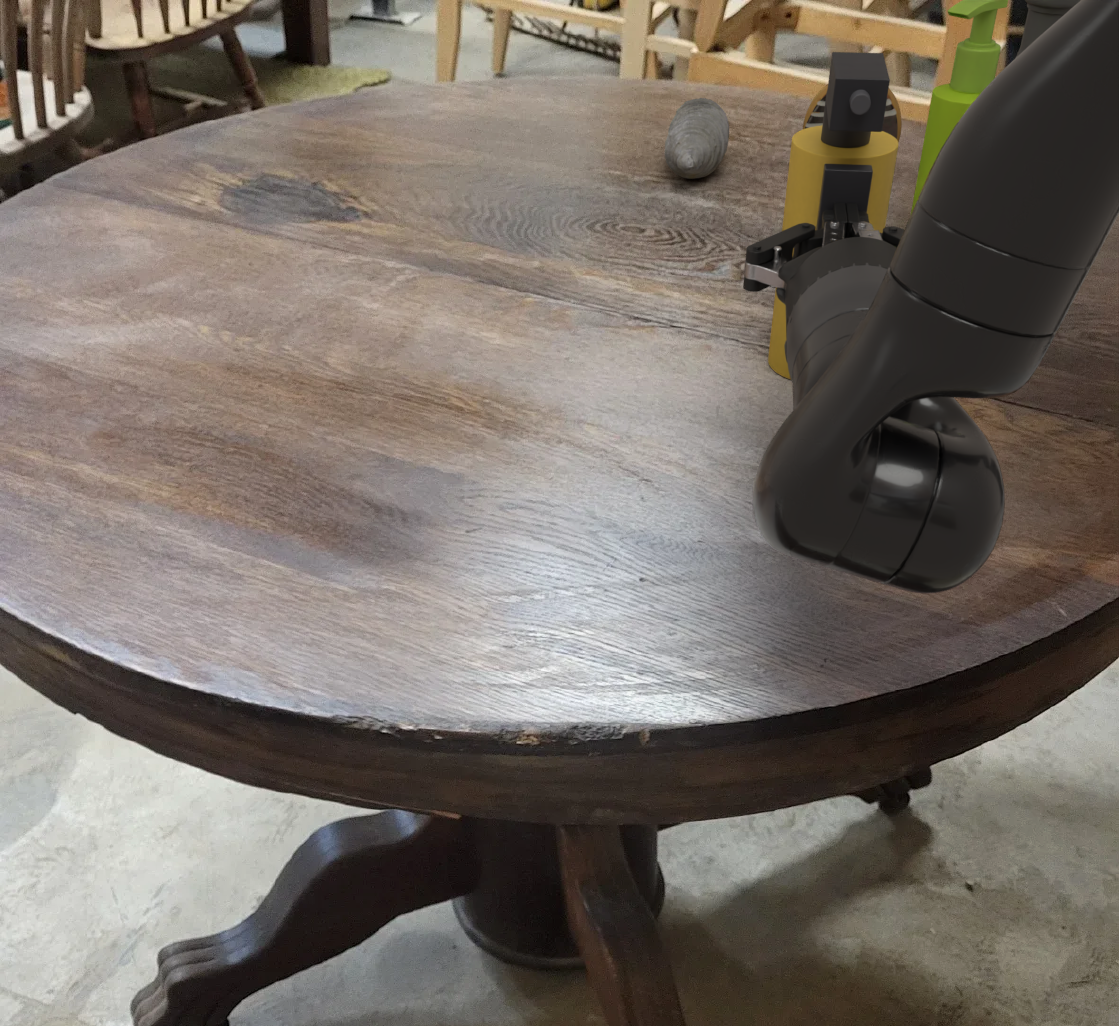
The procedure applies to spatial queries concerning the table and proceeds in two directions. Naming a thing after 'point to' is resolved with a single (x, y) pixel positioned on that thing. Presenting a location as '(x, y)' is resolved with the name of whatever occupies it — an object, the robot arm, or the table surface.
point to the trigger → (844, 187)
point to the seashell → (697, 138)
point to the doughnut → (891, 116)
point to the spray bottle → (839, 157)
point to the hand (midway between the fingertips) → (842, 218)
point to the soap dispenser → (961, 80)
